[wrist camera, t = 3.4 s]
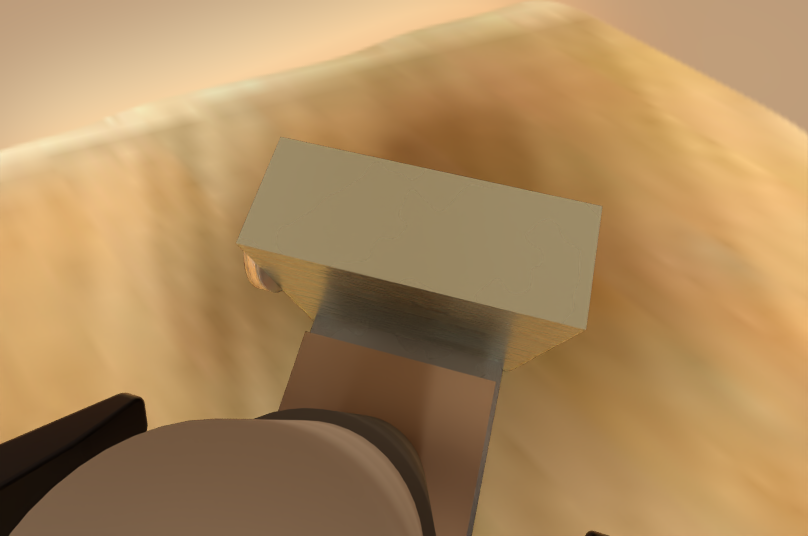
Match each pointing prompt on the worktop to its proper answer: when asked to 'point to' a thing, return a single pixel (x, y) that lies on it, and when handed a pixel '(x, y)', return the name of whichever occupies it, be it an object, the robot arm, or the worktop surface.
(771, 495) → the worktop surface
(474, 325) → the rail
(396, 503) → the carriage
